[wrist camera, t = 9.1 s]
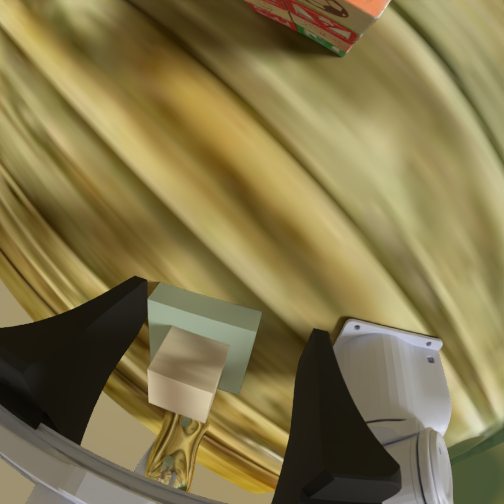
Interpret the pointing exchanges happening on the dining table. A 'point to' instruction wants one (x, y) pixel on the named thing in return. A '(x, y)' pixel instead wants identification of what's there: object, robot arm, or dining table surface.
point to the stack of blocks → (324, 19)
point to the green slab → (205, 326)
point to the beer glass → (173, 451)
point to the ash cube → (186, 373)
